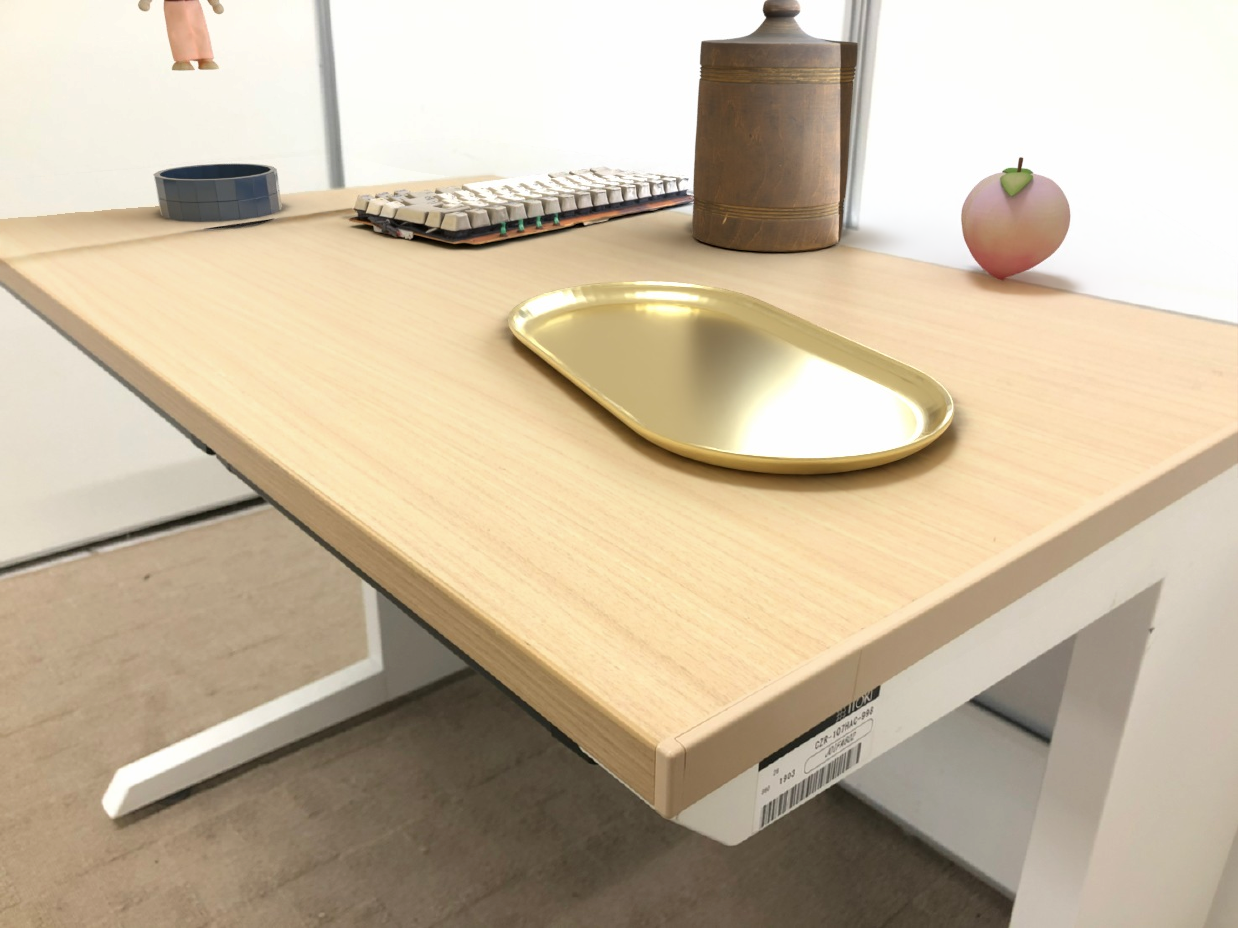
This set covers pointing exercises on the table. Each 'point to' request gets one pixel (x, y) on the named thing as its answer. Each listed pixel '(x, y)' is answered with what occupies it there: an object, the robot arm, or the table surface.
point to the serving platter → (733, 377)
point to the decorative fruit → (1014, 221)
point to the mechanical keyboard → (519, 204)
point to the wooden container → (773, 137)
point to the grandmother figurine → (188, 32)
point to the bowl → (218, 193)
